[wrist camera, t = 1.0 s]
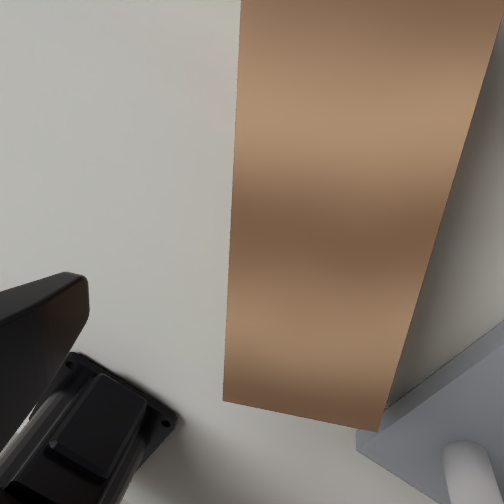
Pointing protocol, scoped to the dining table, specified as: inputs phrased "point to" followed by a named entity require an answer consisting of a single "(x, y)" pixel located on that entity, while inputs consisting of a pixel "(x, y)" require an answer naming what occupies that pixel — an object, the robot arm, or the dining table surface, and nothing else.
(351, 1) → the shelf board
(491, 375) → the peg plate
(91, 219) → the dining table surface
